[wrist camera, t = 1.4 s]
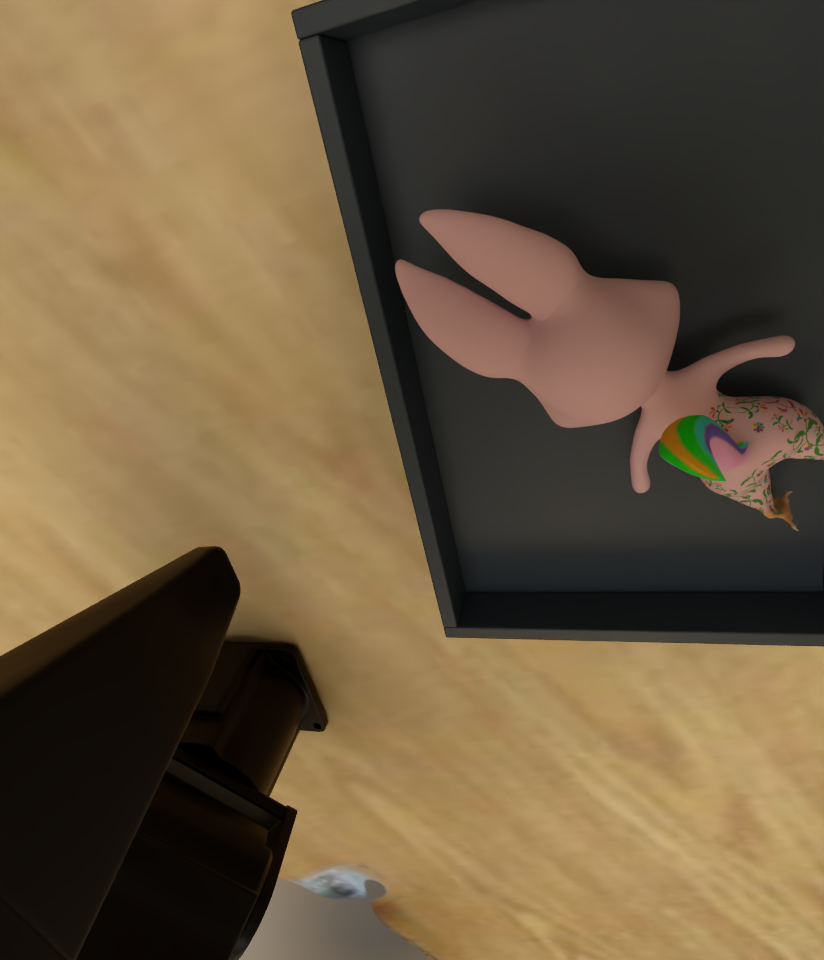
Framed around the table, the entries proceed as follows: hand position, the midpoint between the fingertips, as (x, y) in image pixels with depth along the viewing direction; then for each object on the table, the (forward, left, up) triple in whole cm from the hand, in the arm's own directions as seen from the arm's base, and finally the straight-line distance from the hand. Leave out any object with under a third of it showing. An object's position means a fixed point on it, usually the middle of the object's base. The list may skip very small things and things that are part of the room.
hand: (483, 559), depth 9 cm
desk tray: (-2, -3, -13) cm, 13 cm away
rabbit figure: (-2, -3, -13) cm, 13 cm away
